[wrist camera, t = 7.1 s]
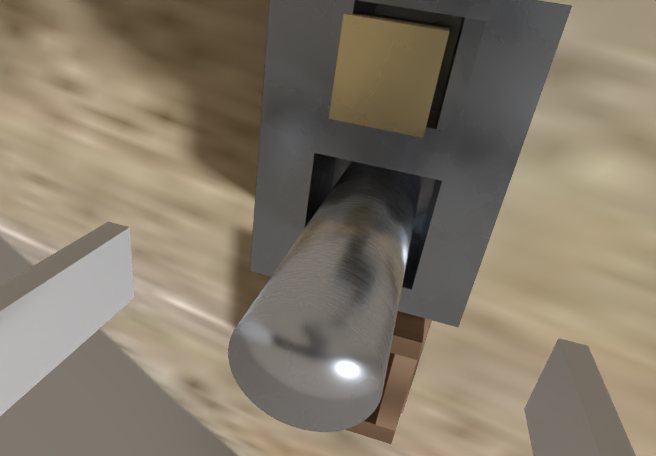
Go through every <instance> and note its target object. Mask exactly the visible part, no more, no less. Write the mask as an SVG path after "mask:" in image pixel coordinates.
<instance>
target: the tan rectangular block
mask: <svg viewBox="0 0 656 456" xmlns="http://www.w3.org/2000/svg"><path fill="white" fill-rule="evenodd" d="M449 32H450V26H445V25H439V24H433V23H427V22H421V21H415V20H408V19H402V18H396V17H390V16H384V15H370V14H344V15H343V22H342V29H341V36H340V43H339V50H338V57H337V64H336V71H335V78H334V85H333V92H332V99H331V106H330V113H329V119H333V120H338V121H343V122H348V123H353V124H357V125H362V126H367V127H372V128H377V129H382V130H387V131H391V132H396V133H401V134H406V135H411V136H416V137H421V138H423V137H424V133H425V129H426V125H427V121H428V117H429V113H430V109H431V105H432V101H433V97H434V93H435V89H436V84H437V80H438V76H439V72H440V68H441V64H442V60H443V56H444V52H445V48H446V44H447V40H448V36H449Z"/></svg>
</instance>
